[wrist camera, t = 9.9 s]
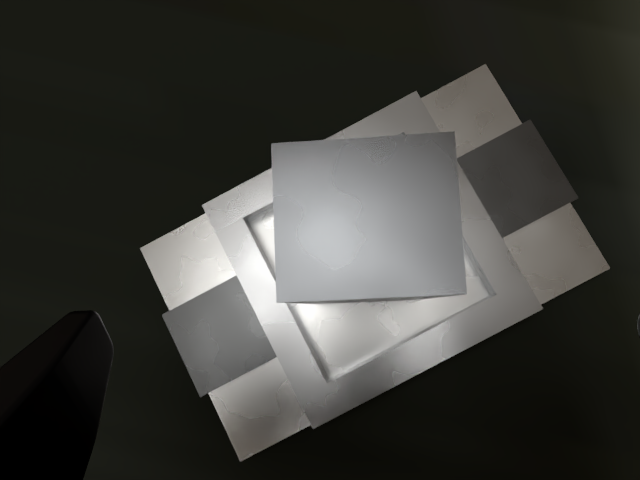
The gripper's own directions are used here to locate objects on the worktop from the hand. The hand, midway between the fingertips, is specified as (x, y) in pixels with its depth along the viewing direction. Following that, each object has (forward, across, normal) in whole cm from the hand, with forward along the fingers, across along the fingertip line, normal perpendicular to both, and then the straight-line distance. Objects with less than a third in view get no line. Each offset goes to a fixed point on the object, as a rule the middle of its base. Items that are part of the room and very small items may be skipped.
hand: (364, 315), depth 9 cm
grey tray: (+11, 0, +8) cm, 14 cm away
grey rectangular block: (+10, 0, +7) cm, 13 cm away
